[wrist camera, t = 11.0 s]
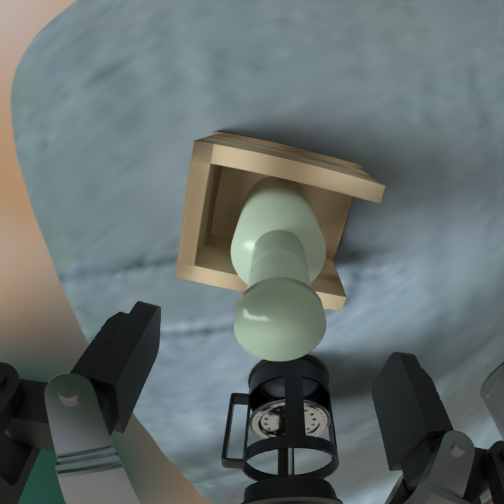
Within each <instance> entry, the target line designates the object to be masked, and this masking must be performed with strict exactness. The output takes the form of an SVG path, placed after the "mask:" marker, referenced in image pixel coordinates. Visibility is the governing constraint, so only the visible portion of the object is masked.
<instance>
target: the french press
mask: <svg viewBox="0 0 504 504" xmlns="http://www.w3.org/2000/svg"><path fill="white" fill-rule="evenodd" d="M281 377H285V397H281V398H276V399H273V398H271V397H269V396H267V395H266V394H265V393H264V392H263V391H262V390H261V388H260V385H261V384H263V383H265V382H267V381H269V380H273V379H276V378H281ZM302 377H303V378H308V379H311V380H313V381H316V382H317V383H318V384H317V387H316V388H315V390H314V391H313V392H312V393H311V394H309V395H308V396H306V397H303V385H302ZM248 384H249V394H244V393H232V394H231V397H230V404H229V410H228V417H227V423H226V430H225V436H224V443H223V450H222V457H221V458H222V465H223V467H226V468H236V469H242V470H243V472H244V473H245V475H247V476H248V477H249V478H251V479H253V480H255V481H258V482H256V483H253V484H251V485H250V486H248V487H247V488H246V489H245V491H244V500H243V503H241V504H343V502H342V501H341V500H340V499H338V498H337V497H336V494H335V491H334V489H333V488H332V486H331V485H330V483H329V482H327V481H325V480H324V478H326V477H327V476H329V475H331V474H332V473H333V472H334V471H335V470H336V469H337V468H338V465H339V460H338V452H337V444H336V436H335V429H334V421H333V414H332V407H331V400H330V394H329V387H328V384H329V375H328V371H327V369H326V367H325V366H324V365H323V364H322V363H321V362H320V361H319V360H317V359H316V358H314V357H311V356H309V355H304V356H302V357H300V358H297V359H294V360H289V361H269V360H265V359H263V360H261V361H260V362H259V363H258V364H256V365H255V366H254V368H253V369H252V370H251V372H250V375H249V379H248ZM235 404H241V405H248V409H247V419H246V430H245V440H244V450H243V459H234V458H227V453H228V446H229V439H230V432H231V424H232V417H233V410H234V405H235ZM250 408H251V410H252V411H253V413H252V415H251V417H250ZM249 427H250V429H251V431H252V432H253V433H254V434H255V435H257V436H258V437H260V438H262V439H263V440H260V441H257V442H255V443H253V444H251V445H250V446H249V447H248V448H247V441H248V430H249ZM327 428H329V437H330V441H328V440H325V439H323V438H319V437H317V436H319V435H320V434H322V433H323V432H324V431H325V430H326V429H327ZM294 448H308V449H316V450H320V451H324V452H326V453H329V454H330V455H332V461H331V462H330V463H329V464H327V465H326V466H324V467H323V468H320V469H318V470H316V471H313V472H309V473H305V474H299V475H294ZM275 449H278V475H274V474H269V473H264V472H261V471H259V470H256V469H255V468H253V467H251V466H250V465H249V464H248V463H247V462H246V461H247V460H248V459H250V458H251V457H253V456H255V455H257V454H260V453H263V452H266V451H271V450H275Z"/></svg>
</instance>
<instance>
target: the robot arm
mask: <svg viewBox="0 0 504 504" xmlns="http://www.w3.org/2000/svg"><path fill="white" fill-rule="evenodd" d="M160 322H161V307H160V306H156V305H152V304H149V303H145V302H141V301H138V302H137V303H136V304H135V306H134V307H133V309H132V310H131V311H130V313H129V314H127V313H123V312H119V313H117V314H115V315H114V316H112V317H110V318H109V319H108V320H107V321H106V322H105V324H104V325H103V326H102V328H101V330H100V331H99V332H98V333H97V335H96V336H95V338H94V340H92V342H91V343H90V345H89V346H88V348H87V349H86V351H85V352H84V354H83V355H82V356H81V358H80V359H79V361H78V362H77V364H76V365H75V367H74V368H73V370H72V371H71V372H70V373H65V374H60V375H58V376H56V377H54V378H52V379H51V380H50V381H49V382H37V381H31V380H24V379H20V378H19V375H18V373H17V371H16V370H15V368H13V367H12V366H11V365H9V364H7V363H2V362H0V504H18V501H19V499H20V496H21V494H22V491H23V489H24V487H25V484H26V482H27V479H28V477H29V475H30V472H31V470H32V468H33V465H34V463H35V461H36V459H37V456H38V454H39V452H40V450H41V449H46V450H53V451H55V452H56V456H57V463H56V472H57V476H58V480H59V483H60V486H61V490H62V493H63V496H64V499H65V502H66V504H140V503H139V500H138V499H137V496H136V494H135V492H134V490H133V488H132V486H131V484H130V482H129V479H128V477H127V475H126V472H125V470H124V468H123V466H122V463H121V461H120V459H119V456H118V454H117V453H116V451H115V449H114V446H113V444H112V441H111V438H110V436H111V434H112V431H113V430H114V431H117V432H120V433H124V430H125V428H126V426H127V424H128V421H129V419H130V416H131V414H132V412H133V409H134V407H135V405H136V402H137V400H138V398H139V395H140V393H141V391H142V389H143V386H144V384H145V382H146V380H147V377H148V375H149V373H150V370H151V368H152V366H153V364H154V362H155V359H156V357H157V353H158V349H159V343H160ZM481 396H482V398H483V400H484V402H485V404H486V406H487V408H488V410H489V412H490V414H491V416H492V418H493V420H494V422H495V424H496V426H497V428H498V430H499V433H500V435H501V437H502V439H503V441H497V442H495V443H494V444H493V445H492V446H491V447H490V448H489V449H488V450H486V449H481V448H476V447H474V445H473V442H472V441H471V439H470V438H469V437H468V436H467V435H466V434H464V433H463V432H460V431H456V430H453V427H452V425H451V422H450V420H449V418H448V415H447V413H446V410H445V408H444V406H443V403H442V401H441V400H440V396H439V394H438V392H437V391H436V387H435V385H434V383H433V381H432V379H431V377H430V376H429V375H428V374H427V373H426V372H425V371H424V369H422V368H421V367H420V365H419V362H418V360H417V358H416V356H415V355H414V354H410V353H401V352H394V353H392V354H391V356H390V357H389V359H388V361H387V362H386V364H385V366H384V367H383V369H382V371H381V372H380V374H379V376H378V377H377V379H376V381H375V382H374V385H373V389H372V398H373V402H374V406H375V410H376V414H377V418H378V422H379V426H380V430H381V434H382V439H383V443H384V447H385V452H386V456H387V461H388V466H389V470H390V471H394V470H402V471H403V475H402V476H401V477H400V478H399V479H398V481H397V482H396V484H395V486H394V488H393V490H392V492H391V493H390V495H389V497H388V499H387V500H386V502H385V504H481V500H480V496H481V495H482V494H484V493H485V492H486V491H488V490H489V489H490V492H491V496H492V500H493V503H494V504H504V364H503V365H501V366H500V367H499V368H498V369H496V370H495V371H494V372H493V373H492V374H491V376H490V377H489V378H488V379H487V381H486V382H485V384H484V386H483V388H482V390H481Z"/></svg>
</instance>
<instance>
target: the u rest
mask: <svg viewBox="0 0 504 504" xmlns="http://www.w3.org/2000/svg"><path fill="white" fill-rule="evenodd" d="M361 169H362V166H361V165H359V164H356V163H352V162H349V161H345V160H342V159H338V158H335V157H331V156H327V155H324V154H320V153H316V152H312V151H308V150H304V149H300V148H296V147H292V146H288V145H283V144H279V143H274V142H270V141H265V140H261V139H256V138H251V137H246V136H241V135H236V134H230V133H225V132H219V131H213V135H211V136H208V137H205V138H202V139H199V140H195V141H194V147H193V152H192V158H191V164H190V171H189V177H188V184H187V190H186V197H185V204H184V211H183V219H182V227H181V235H180V243H179V251H178V260H177V270H176V277H178V278H182V279H187V280H191V281H195V282H200V283H204V284H209V285H213V286H218V287H222V288H227V289H232V290H236V291H241V292H245V291H246V290H247V287H248V285H247V284H246V283H245V282H244V281H243V280H242V279H241V278H240V277H239V275H238V274H237V272H236V270H235V268H234V266H233V263H232V259H231V244H232V240H233V237H234V234H235V231H236V227H237V224H238V221H239V218H240V215H241V212H242V209H243V206H244V203H245V200H246V197H247V194H248V192H249V191H250V189H251V188H252V187H253V186H254V185H255V184H256V183H257V182H258V181H260V180H262V179H264V178H267V177H270V176H274V177H279V178H283V179H287V180H292V181H295V182H297V183H298V184H299V185H300V186H301V187H302V188H303V189H304V191H305V193H306V195H307V197H308V199H309V202H310V204H311V207H312V209H313V212H314V214H315V217H316V219H317V222H318V225H319V227H320V230H321V232H322V235H323V238H324V241H325V246H326V256H325V261H324V265H323V267H322V270H321V271H320V273H319V275H318V276H317V277H316V278H315V279H314V280H313V281H312V282H311V288H312V289H313V290H314V291H315V292H316V293H317V294H318V296H319V297H320V299H321V302H322V305H323V308H327V309H332V310H338V311H341V310H342V307H343V305H344V302H345V300H346V298H347V297H346V294H345V292H344V289H343V286H342V283H341V281H340V278H339V275H338V272H337V270H336V267H335V264H334V262H333V259H334V257H335V254H336V251H337V248H338V244H339V241H340V238H341V235H342V232H343V229H344V226H345V223H346V220H347V216H348V213H349V210H350V206H351V203H352V200H353V196H354V197H358V198H361V199H365V200H369V201H372V202H376V203H379V204H380V203H381V200H382V197H383V193H384V190H385V187H386V186H385V185H383V184H382V183H380V182H379V181H377V180H376V179H374V178H373V177H371V176H370V175H368V174H367V173H365V172H364V171H362V170H361Z"/></svg>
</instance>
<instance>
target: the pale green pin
mask: <svg viewBox="0 0 504 504" xmlns="http://www.w3.org/2000/svg"><path fill="white" fill-rule="evenodd" d="M325 256H326V246H325V241H324V238H323V235H322V232H321V230H320V227H319V225H318V222H317V219H316V217H315V214H314V212H313V209H312V207H311V204H310V202H309V199H308V197H307V195H306V193H305V191H304V189H303V188H302V187H301V186H300V185H299V184H298V183H297V182H295V181H292V180H287V179H283V178H279V177H274V176H270V177H267V178H264V179H262V180H260V181H258V182H257V183H256V184H255V185H254V186H253V187H252V188H251V189H250V191H249V192H248V194H247V197H246V200H245V203H244V206H243V209H242V212H241V215H240V218H239V221H238V224H237V227H236V231H235V234H234V237H233V240H232V244H231V259H232V263H233V266H234V268H235V270H236V272H237V274H238V275H239V277H240V278H241V279H242V280H243V281H244V282H245V283H246V284H247V285H248V287H247V290H246V291H245V292H244V293H243V294H242V296H241V297H240V299H239V301H238V304H237V307H236V312H235V318H234V333H235V336H236V338H237V340H238V342H239V343H240V344H241V346H242V347H243V348H244V349H245V350H246V351H248V352H249V353H251V354H252V355H254V356H256V357H258V358H261V359H265V360H269V361H289V360H294V359H297V358H300V357H302V356H304V355H306V354H308V353H309V352H311V351H312V350H313V349H314V348H316V346H317V345H318V344H319V343H320V342H321V340H322V338H323V336H324V334H325V330H326V318H325V313H324V309H323V305H322V302H321V299H320V297H319V296H318V294H317V293H316V292H315V291H314V290H313V289H312V288H311V282H312V281H313V280H314V279H315V278H316V277H317V276H318V275H319V273H320V271H321V270H322V267H323V265H324V261H325Z"/></svg>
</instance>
